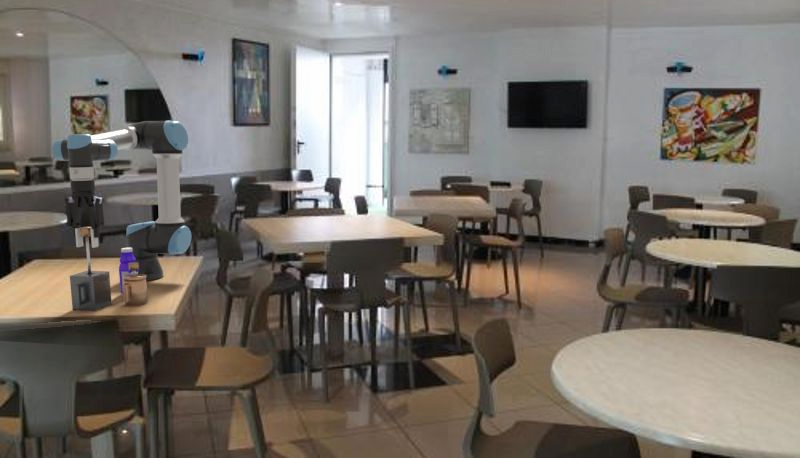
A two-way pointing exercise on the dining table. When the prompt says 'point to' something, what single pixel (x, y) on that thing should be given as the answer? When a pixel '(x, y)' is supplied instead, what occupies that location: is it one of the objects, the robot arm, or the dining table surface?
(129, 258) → the bottle
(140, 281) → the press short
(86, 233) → the plunger tall
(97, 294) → the cube with square hole
